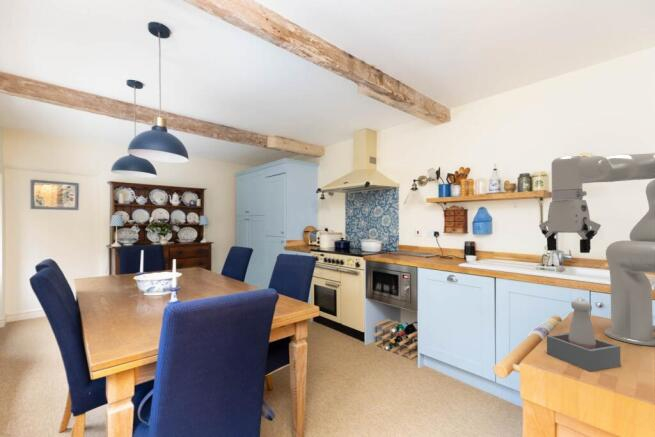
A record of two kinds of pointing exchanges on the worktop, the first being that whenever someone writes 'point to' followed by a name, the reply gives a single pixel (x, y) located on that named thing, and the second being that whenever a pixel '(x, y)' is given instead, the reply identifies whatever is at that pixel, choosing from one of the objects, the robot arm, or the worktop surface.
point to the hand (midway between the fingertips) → (567, 251)
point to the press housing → (584, 353)
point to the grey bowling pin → (582, 325)
